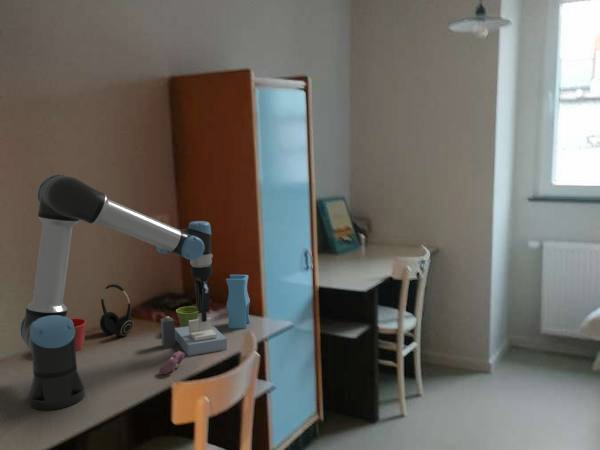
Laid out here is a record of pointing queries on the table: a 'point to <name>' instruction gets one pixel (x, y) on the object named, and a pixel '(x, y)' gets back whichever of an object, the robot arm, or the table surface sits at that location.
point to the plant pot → (187, 315)
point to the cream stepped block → (202, 334)
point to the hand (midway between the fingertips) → (203, 329)
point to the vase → (238, 301)
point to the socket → (199, 342)
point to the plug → (167, 332)
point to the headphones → (116, 318)
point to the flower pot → (79, 332)
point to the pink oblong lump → (172, 363)
